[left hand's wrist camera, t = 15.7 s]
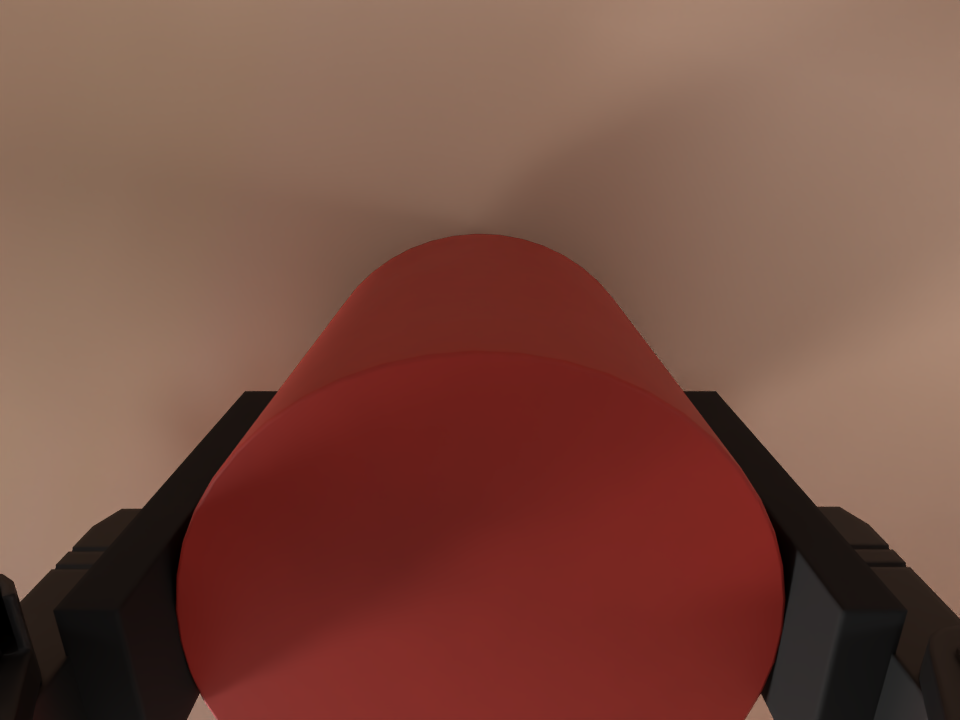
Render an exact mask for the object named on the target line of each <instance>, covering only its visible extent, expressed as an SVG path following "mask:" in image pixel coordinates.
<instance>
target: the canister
mask: <svg viewBox="0 0 960 720" xmlns="http://www.w3.org/2000/svg"><path fill="white" fill-rule="evenodd" d="M784 609H785V586H784V572H783V563H782V558H781V554H780V550H779V546H778V542H777V538H776V534H775V531H774V528H773V526H772V524H771V521H770V519H769V517H768V514H767V512H766V510H765V507H764V505H763V503H762V500H761V498H760V497H759V495H758V494H757V492H756V490H755V489H754V487H753V486H752V484H751V483H750V481H749V479H748V478H747V476H746V475H745V473H744V472H743V470H742V468H741V467H740V466H739V464H738V463H737V462H736V461H735V459H734V458H733V457H732V455H731V454H730V453H729V451H728V450H727V449H726V447H725V446H724V445H723V443H722V442H721V441H720V439H719V438H718V437H717V435H716V434H715V433H714V431H713V430H712V429H711V428H710V426H709V425H708V424H707V422H706V421H705V420H704V418H703V417H702V416H701V414H700V413H699V412H698V410H697V409H696V408H695V406H694V405H693V404H692V402H691V401H690V400H689V398H688V397H687V396H686V394H685V393H684V392H683V391H682V389H681V388H680V387H679V385H678V384H677V383H676V381H675V380H674V379H673V377H672V376H671V375H670V373H669V372H668V371H667V369H666V368H665V367H664V365H663V364H662V363H661V361H660V360H659V359H658V358H657V356H656V355H655V354H654V352H653V351H652V350H651V348H650V347H649V346H648V344H647V343H646V342H645V340H644V339H643V338H642V336H641V335H640V334H639V332H638V331H637V330H636V328H635V327H634V326H633V324H632V323H631V322H630V321H629V319H628V318H627V317H626V315H625V314H624V313H623V311H622V310H621V309H620V307H619V306H618V305H617V303H616V302H615V301H614V299H613V298H612V297H611V296H610V295H609V293H608V292H607V291H606V290H605V289H604V288H603V286H602V285H601V284H600V283H599V282H598V281H597V280H596V279H595V278H594V277H592V276H591V275H590V274H589V273H588V272H587V271H585V270H584V269H583V268H582V267H581V266H579V265H577V264H576V263H574V262H573V261H571V260H570V259H568V258H567V257H565V256H564V255H562V254H560V253H557V252H555V251H553V250H551V249H549V248H547V247H545V246H542V245H539V244H536V243H533V242H530V241H527V240H524V239H519V238H514V237H508V236H503V235H489V234H470V235H459V236H451V237H447V238H442V239H438V240H433V241H430V242H427V243H425V244H422V245H419V246H416V247H414V248H411V249H409V250H407V251H405V252H403V253H401V254H399V255H398V256H396V257H394V258H392V259H390V260H389V261H387V262H386V263H385V264H383V265H382V266H381V267H379V268H378V269H376V270H375V271H374V272H372V273H371V274H370V275H369V276H368V277H367V278H366V279H365V280H364V281H363V282H362V283H361V284H360V285H359V286H358V287H357V288H356V289H355V291H354V292H353V293H352V294H351V296H350V297H349V298H348V299H347V301H346V302H345V303H344V304H343V306H342V307H341V308H340V310H339V311H338V312H337V314H336V315H335V316H334V318H333V319H332V320H331V322H330V323H329V324H328V326H327V327H326V328H325V330H324V331H323V332H322V334H321V335H320V336H319V338H318V339H317V340H316V342H315V343H314V344H313V346H312V347H311V348H310V350H309V351H308V352H307V353H306V355H305V356H304V357H303V359H302V360H301V361H300V363H299V364H298V365H297V367H296V368H295V369H294V371H293V372H292V373H291V375H290V376H289V377H288V379H287V380H286V381H285V383H284V384H283V385H282V387H281V388H280V389H279V391H278V392H277V393H276V395H275V396H274V397H273V399H272V400H271V401H270V403H269V404H268V405H267V406H266V408H265V409H264V410H263V412H262V413H261V414H260V416H259V417H258V418H257V420H256V421H255V422H254V424H253V425H252V426H251V428H250V429H249V430H248V432H247V433H246V434H245V436H244V437H243V438H242V440H241V441H240V442H239V444H238V445H237V446H236V448H235V449H234V450H233V452H232V453H231V454H230V455H229V457H228V458H227V459H226V461H225V462H224V463H223V465H222V466H221V467H220V469H219V470H218V471H217V473H216V474H215V475H214V477H213V478H212V480H211V482H210V483H209V485H208V487H207V489H206V490H205V492H204V494H203V496H202V497H201V499H200V501H199V503H198V505H197V506H196V508H195V510H194V513H193V515H192V518H191V521H190V524H189V526H188V529H187V532H186V534H185V537H184V540H183V543H182V548H181V554H180V559H179V564H178V570H177V575H176V615H177V621H178V628H179V635H180V640H181V645H182V648H183V651H184V655H185V658H186V661H187V664H188V667H189V671H190V673H191V675H192V677H193V679H194V681H195V683H196V686H197V688H198V690H199V692H200V694H201V696H202V698H203V700H204V702H205V703H206V704H207V706H208V707H209V709H210V710H211V712H212V713H213V715H214V716H215V718H216V719H217V720H745V718H746V717H747V715H748V714H749V712H750V710H751V709H752V707H753V705H754V704H755V702H756V701H757V699H758V697H759V696H760V694H761V692H762V690H763V688H764V686H765V683H766V681H767V679H768V676H769V674H770V672H771V669H772V667H773V665H774V662H775V658H776V655H777V651H778V647H779V643H780V639H781V635H782V629H783V620H784Z"/></svg>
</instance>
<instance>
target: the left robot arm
mask: <svg viewBox="0 0 960 720" xmlns="http://www.w3.org/2000/svg"><path fill="white" fill-rule="evenodd" d="M277 392H278V391H245V392H244V393H243V394H242V395H241V396H240V398H239V399H238V400H237V401H236V402H235V403H234V404H233V406H232V407H231V408H230V409H229V410H228V411H227V412H226V414H225V415H224V416H223V417H222V418H221V419H220V420H219V422H218V423H217V424H216V425H215V426H214V427H213V428H212V430H211V431H210V432H209V433H208V434H207V435H206V436H205V438H204V439H203V440H202V441H201V442H200V443H199V444H198V446H197V447H196V448H195V449H194V450H193V451H192V452H191V454H190V455H189V456H188V457H187V458H186V459H185V460H184V462H183V463H182V464H181V465H180V466H179V467H178V468H177V470H176V471H175V472H174V473H173V474H172V475H171V476H170V478H169V479H168V480H167V481H166V482H165V483H164V484H163V486H162V487H161V488H160V489H159V490H158V491H157V492H156V494H155V495H154V496H153V497H152V498H151V499H150V500H149V501H148V503H147V504H146V505H145V506H144V507H143V508H142V509H121V510H119V511H117V512H116V513H114V514H113V515H111V516H109V517H108V518H106V519H104V520H103V521H101V522H99V523H98V524H96V525H94V526H93V527H92V528H91V529H90V530H89V531H88V532H87V533H86V534H85V535H84V536H83V537H82V538H81V539H80V540H79V541H78V542H77V543H76V544H75V546H74V547H73V550H72V552H68V553H67V554H66V555H65V556H64V557H63V558H62V559H61V560H60V561H59V562H58V563H57V564H56V568H55V569H51V571H50V572H49V573H48V574H47V575H46V576H45V577H44V578H43V579H42V580H41V581H40V582H39V583H38V584H37V585H36V586H35V587H34V588H33V589H32V590H31V591H30V592H29V593H28V594H27V596H26V597H25V598H24V599H23V600H22V601H21V602H20V601H19V598H18V595H17V591H16V588H15V585H14V582H13V581H12V580H11V579H9V578H8V577H6V576H5V575H3V574H0V720H187V718H188V716H189V714H190V712H191V710H192V708H193V706H194V704H195V702H196V700H197V698H198V696H199V694H200V692H199V690H198V688H197V686H196V683H195V681H194V679H193V677H192V675H191V673H190V671H189V667H188V664H187V661H186V658H185V655H184V651H183V648H182V645H181V640H180V635H179V628H178V621H177V615H176V575H177V570H178V564H179V559H180V554H181V548H182V543H183V540H184V537H185V534H186V532H187V529H188V526H189V524H190V521H191V518H192V515H193V513H194V510H195V508H196V506H197V505H198V503H199V501H200V499H201V497H202V496H203V494H204V492H205V490H206V489H207V487H208V485H209V483H210V482H211V480H212V478H213V477H214V475H215V474H216V473H217V471H218V470H219V469H220V467H221V466H222V465H223V463H224V462H225V461H226V459H227V458H228V457H229V455H230V454H231V453H232V452H233V450H234V449H235V448H236V446H237V445H238V444H239V442H240V441H241V440H242V438H243V437H244V436H245V434H246V433H247V432H248V430H249V429H250V428H251V426H252V425H253V424H254V422H255V421H256V420H257V418H258V417H259V416H260V414H261V413H262V412H263V410H264V409H265V408H266V406H267V405H268V404H269V403H270V401H271V400H272V399H273V397H274V396H275V395H276V393H277ZM683 392H684V393H685V394H686V396H687V397H688V398H689V400H690V401H691V402H692V404H693V405H694V406H695V408H696V409H697V410H698V412H699V413H700V414H701V416H702V417H703V418H704V420H705V421H706V422H707V424H708V425H709V426H710V428H711V429H712V430H713V431H714V433H715V434H716V435H717V437H718V438H719V439H720V441H721V442H722V443H723V445H724V446H725V447H726V449H727V450H728V451H729V453H730V454H731V455H732V457H733V458H734V459H735V461H736V462H737V463H738V464H739V466H740V467H741V468H742V470H743V472H744V473H745V475H746V476H747V478H748V479H749V481H750V483H751V484H752V486H753V487H754V489H755V490H756V492H757V494H758V495H759V497H760V498H761V500H762V503H763V505H764V507H765V510H766V512H767V514H768V517H769V519H770V521H771V524H772V526H773V528H774V531H775V534H776V538H777V542H778V546H779V550H780V554H781V558H782V563H783V572H784V586H785V609H784V620H783V629H782V635H781V639H780V643H779V647H778V651H777V655H776V658H775V662H774V665H773V667H772V669H771V672H770V674H769V676H768V679H767V681H766V683H765V686H764V688H763V690H762V692H761V694H762V696H763V698H764V700H765V702H766V704H767V707H768V709H769V711H770V713H771V715H772V717H773V719H774V720H960V618H959V617H958V616H957V615H956V614H955V613H954V612H953V611H952V610H951V609H950V608H949V607H948V606H947V605H946V604H945V603H944V602H943V601H942V600H941V599H940V598H939V597H938V596H937V595H936V594H935V593H934V592H933V591H932V590H931V588H930V587H929V586H928V585H927V584H926V583H925V582H924V581H923V580H922V579H921V578H920V577H919V576H918V575H917V574H916V573H915V572H914V571H913V570H912V569H911V568H910V567H906V563H905V562H904V561H903V560H902V558H901V557H900V556H899V555H898V554H897V553H896V552H895V551H894V550H890V549H889V545H888V544H887V543H886V542H885V541H884V540H883V539H882V538H881V537H880V536H879V535H878V534H877V533H876V532H875V531H874V530H873V528H872V527H871V526H870V525H869V524H867V523H865V522H864V521H862V520H860V519H859V518H857V517H855V516H854V515H852V514H850V513H849V512H847V511H845V510H844V509H842V508H841V507H817V506H816V505H815V504H814V503H813V502H812V501H811V499H810V498H809V497H808V496H807V495H806V494H805V493H804V492H803V490H802V489H801V488H800V487H799V486H798V485H797V484H796V482H795V481H794V480H793V479H792V478H791V477H790V476H789V474H788V473H787V472H786V471H785V470H784V469H783V468H782V466H781V465H780V464H779V463H778V462H777V461H776V460H775V458H774V457H773V456H772V455H771V454H770V453H769V452H768V450H767V449H766V448H765V447H764V446H763V445H762V444H761V442H760V441H759V440H758V439H757V438H756V437H755V436H754V434H753V433H752V432H751V431H750V430H749V429H748V428H747V426H746V425H745V424H744V423H743V422H742V421H741V420H740V418H739V417H738V416H737V415H736V414H735V413H734V412H733V410H732V409H731V408H730V407H729V406H728V405H727V404H726V403H725V401H724V400H723V399H722V398H721V397H720V396H719V395H718V393H717V392H716V391H683Z"/></svg>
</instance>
